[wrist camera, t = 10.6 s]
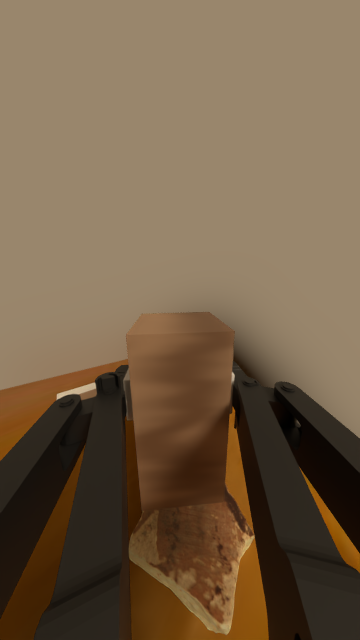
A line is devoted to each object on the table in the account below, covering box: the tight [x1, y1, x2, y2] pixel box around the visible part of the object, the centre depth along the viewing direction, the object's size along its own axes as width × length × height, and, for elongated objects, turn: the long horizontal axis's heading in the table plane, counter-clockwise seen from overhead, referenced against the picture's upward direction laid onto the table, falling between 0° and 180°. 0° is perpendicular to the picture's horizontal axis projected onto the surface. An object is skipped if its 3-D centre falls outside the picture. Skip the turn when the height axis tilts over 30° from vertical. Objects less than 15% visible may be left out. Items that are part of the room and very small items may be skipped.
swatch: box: [57, 383, 97, 400], centre depth 25 cm, size 9×9×1 cm
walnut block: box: [126, 312, 235, 511], centre depth 11 cm, size 5×5×11 cm
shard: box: [129, 483, 254, 635], centre depth 14 cm, size 11×8×2 cm
